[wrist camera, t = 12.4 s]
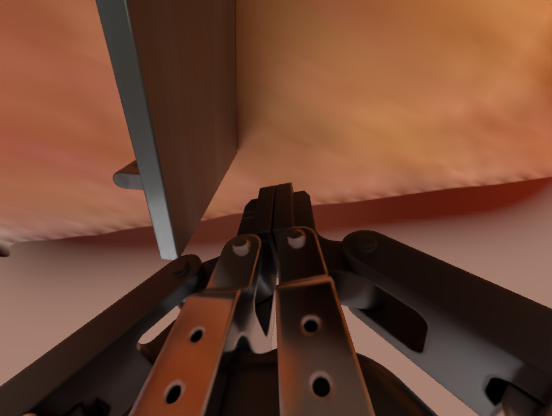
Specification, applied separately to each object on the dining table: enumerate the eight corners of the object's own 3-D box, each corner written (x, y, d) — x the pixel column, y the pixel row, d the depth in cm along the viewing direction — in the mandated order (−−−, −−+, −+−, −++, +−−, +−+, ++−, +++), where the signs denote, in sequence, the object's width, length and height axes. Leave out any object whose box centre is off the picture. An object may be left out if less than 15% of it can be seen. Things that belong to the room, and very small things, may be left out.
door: (185, 148, 28) (67, 251, 13) (158, -59, 19) (-368, -556, 4) (237, 153, 28) (179, 261, 13) (234, -52, 19) (24, -513, 4)
